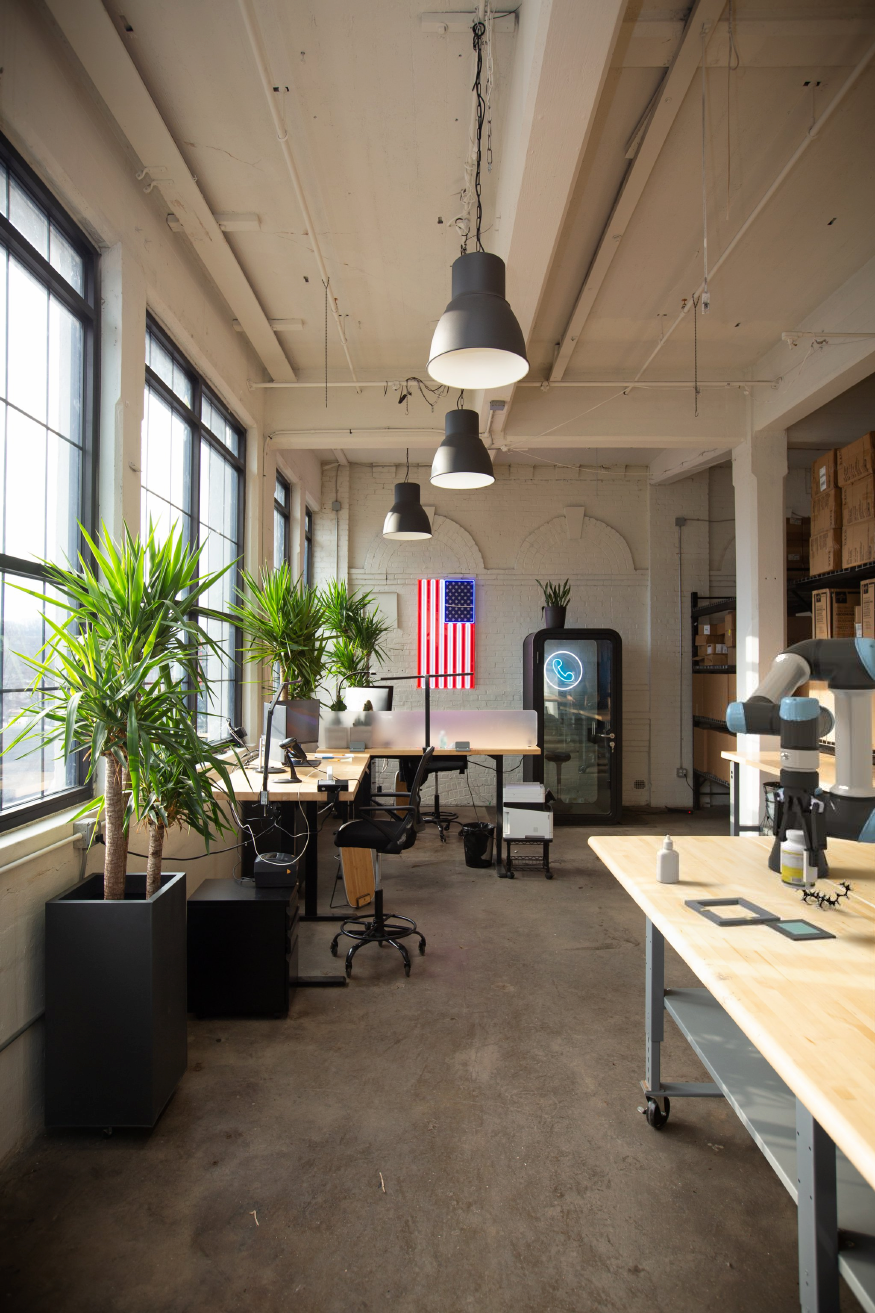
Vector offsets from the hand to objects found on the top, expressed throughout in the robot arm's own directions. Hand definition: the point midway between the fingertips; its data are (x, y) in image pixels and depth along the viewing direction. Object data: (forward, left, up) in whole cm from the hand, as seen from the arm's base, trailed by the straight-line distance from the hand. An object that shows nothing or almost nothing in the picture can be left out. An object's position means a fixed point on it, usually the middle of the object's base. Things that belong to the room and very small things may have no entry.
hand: (798, 876), depth 151 cm
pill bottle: (0, 0, -2) cm, 2 cm away
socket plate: (+8, -12, -12) cm, 18 cm away
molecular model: (-17, -13, -12) cm, 24 cm away
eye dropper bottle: (+10, -37, -12) cm, 40 cm away
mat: (0, 0, -12) cm, 12 cm away
